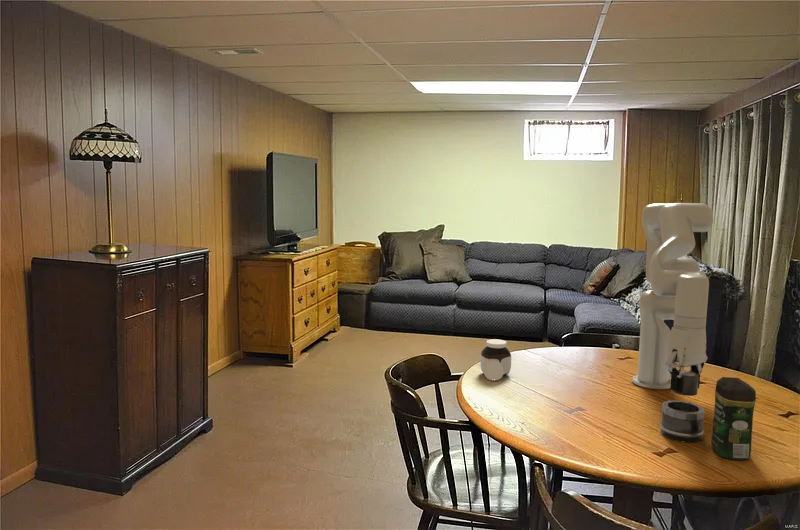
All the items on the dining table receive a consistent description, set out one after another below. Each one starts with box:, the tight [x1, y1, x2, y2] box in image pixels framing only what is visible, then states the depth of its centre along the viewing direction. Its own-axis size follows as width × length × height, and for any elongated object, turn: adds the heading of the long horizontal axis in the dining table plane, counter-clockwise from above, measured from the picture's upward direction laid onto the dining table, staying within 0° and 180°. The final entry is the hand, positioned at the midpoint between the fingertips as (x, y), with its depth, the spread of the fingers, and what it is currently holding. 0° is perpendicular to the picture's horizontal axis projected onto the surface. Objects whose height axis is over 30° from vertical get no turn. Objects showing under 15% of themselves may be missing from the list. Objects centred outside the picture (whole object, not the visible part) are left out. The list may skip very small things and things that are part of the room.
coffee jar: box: [710, 376, 757, 461], centre depth 151 cm, size 10×8×19 cm
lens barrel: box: [659, 399, 706, 443], centre depth 162 cm, size 10×10×8 cm
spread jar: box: [479, 338, 512, 382], centre depth 209 cm, size 12×11×12 cm
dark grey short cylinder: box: [671, 369, 699, 397], centre depth 161 cm, size 6×6×5 cm
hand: (684, 388), depth 161 cm, fingers closed on dark grey short cylinder, 6 cm apart
